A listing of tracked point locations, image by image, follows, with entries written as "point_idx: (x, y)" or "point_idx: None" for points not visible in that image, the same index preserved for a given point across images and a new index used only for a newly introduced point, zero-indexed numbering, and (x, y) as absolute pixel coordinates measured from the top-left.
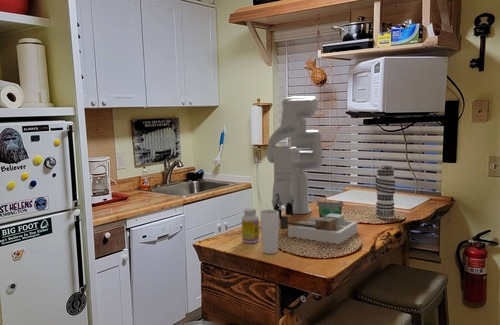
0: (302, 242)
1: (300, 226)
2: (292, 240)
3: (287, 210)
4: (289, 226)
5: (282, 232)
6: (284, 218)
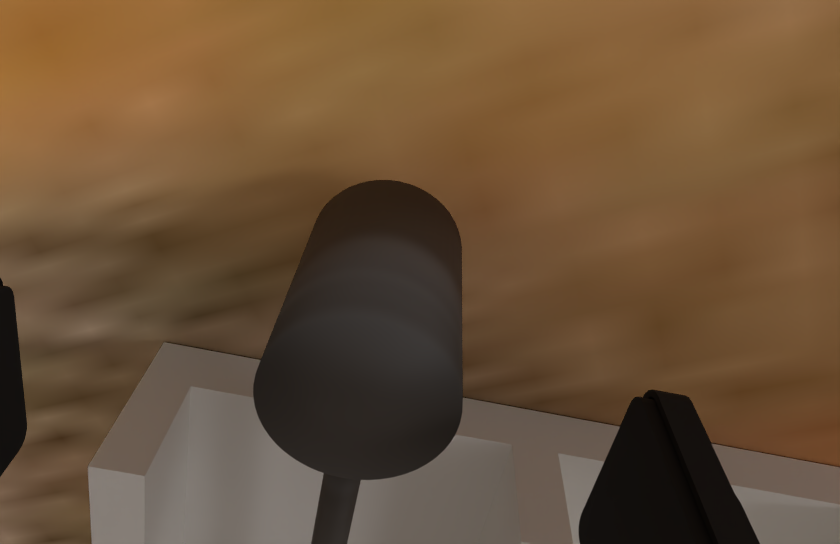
0: (29, 526)
1: (509, 489)
2: (37, 421)
3: (650, 531)
4: (89, 480)
5: None
6: (276, 419)
